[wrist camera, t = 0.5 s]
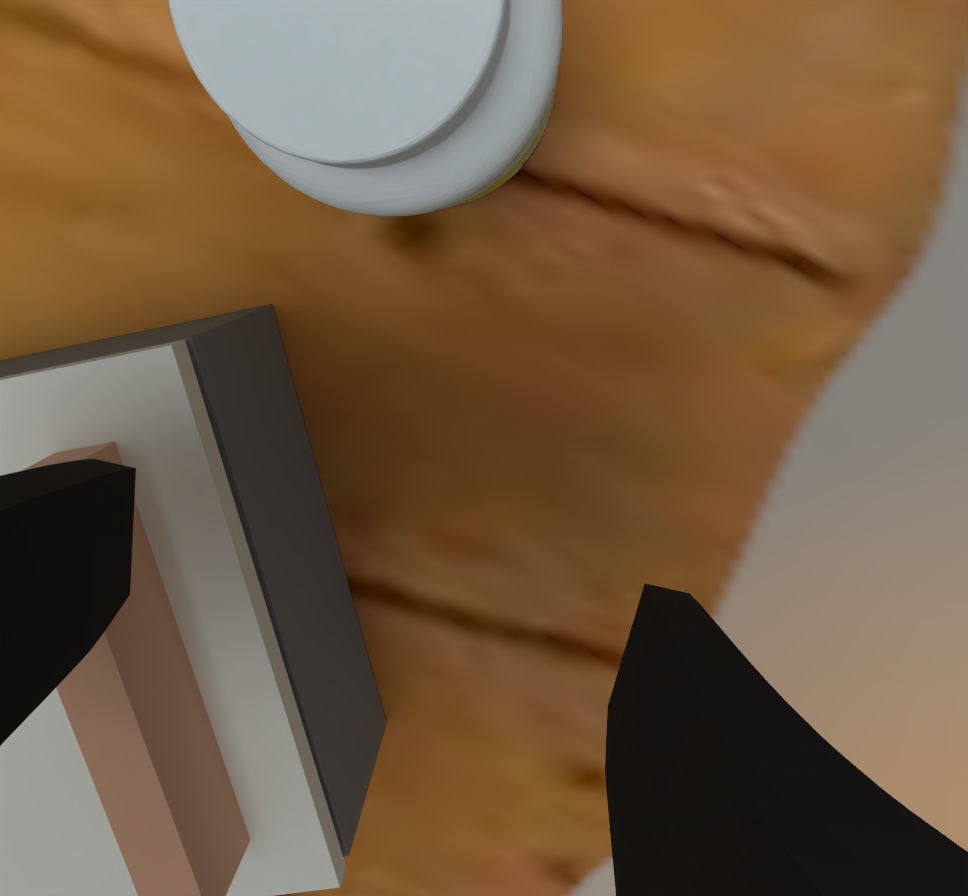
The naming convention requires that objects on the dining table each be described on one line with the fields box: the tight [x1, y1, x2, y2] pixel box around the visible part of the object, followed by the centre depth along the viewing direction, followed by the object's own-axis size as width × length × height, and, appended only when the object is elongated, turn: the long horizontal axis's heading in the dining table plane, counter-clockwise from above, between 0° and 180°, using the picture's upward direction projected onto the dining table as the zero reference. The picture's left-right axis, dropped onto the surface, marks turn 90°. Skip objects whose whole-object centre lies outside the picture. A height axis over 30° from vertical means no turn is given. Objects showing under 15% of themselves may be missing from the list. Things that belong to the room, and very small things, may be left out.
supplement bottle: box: [168, 0, 563, 217], centre depth 14 cm, size 5×5×10 cm
